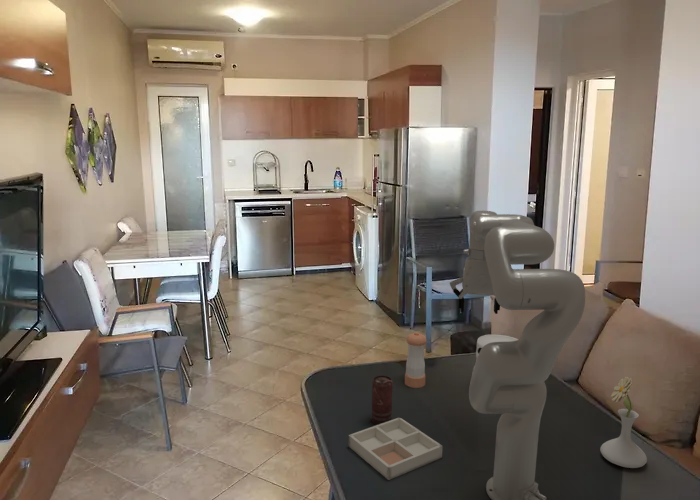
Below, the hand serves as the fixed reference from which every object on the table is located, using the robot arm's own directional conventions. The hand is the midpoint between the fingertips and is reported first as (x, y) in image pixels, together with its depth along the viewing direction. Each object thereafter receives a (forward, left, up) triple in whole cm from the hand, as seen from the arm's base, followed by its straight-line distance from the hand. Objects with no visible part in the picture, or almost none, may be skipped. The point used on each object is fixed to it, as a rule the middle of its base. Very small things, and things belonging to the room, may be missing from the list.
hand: (478, 311), depth 157 cm
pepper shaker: (+31, -4, -36) cm, 48 cm away
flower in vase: (-36, -20, -36) cm, 55 cm away
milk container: (+11, -24, -36) cm, 45 cm away
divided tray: (+1, +29, -36) cm, 46 cm away
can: (+16, +22, -36) cm, 45 cm away
